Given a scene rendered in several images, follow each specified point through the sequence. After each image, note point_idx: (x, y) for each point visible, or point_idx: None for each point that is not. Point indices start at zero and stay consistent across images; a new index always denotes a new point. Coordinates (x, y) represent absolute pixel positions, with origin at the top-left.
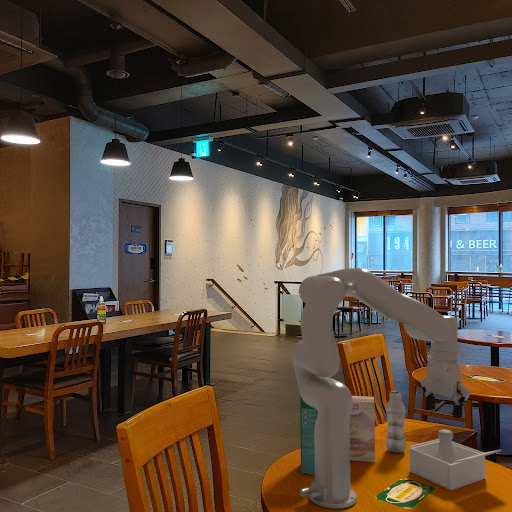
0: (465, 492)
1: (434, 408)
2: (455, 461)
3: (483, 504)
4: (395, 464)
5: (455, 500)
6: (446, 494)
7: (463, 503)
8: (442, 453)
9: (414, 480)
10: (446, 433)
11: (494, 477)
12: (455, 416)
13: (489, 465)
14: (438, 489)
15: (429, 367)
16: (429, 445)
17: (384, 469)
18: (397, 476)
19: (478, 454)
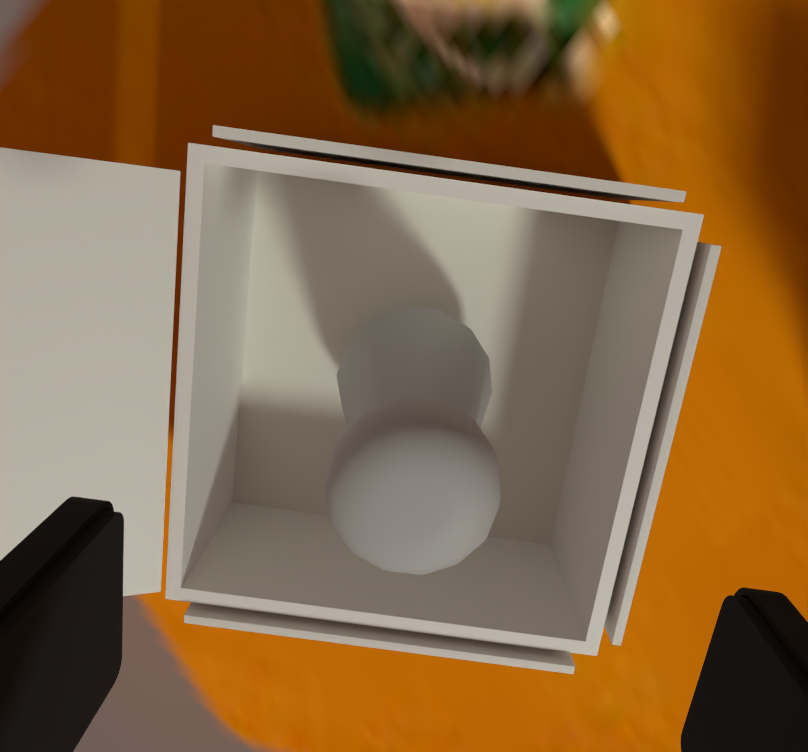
0: (179, 214)
1: (688, 742)
2: (138, 165)
3: (5, 139)
4: (789, 239)
5: (141, 32)
6: (234, 70)
7: (83, 36)
8: (410, 355)
9: (519, 90)
10: (362, 447)
11: None
12: (58, 522)
13: (330, 720)
14: (316, 99)
15: None
16: (620, 469)
17: (803, 74)
18: (651, 42)
19: (132, 505)
